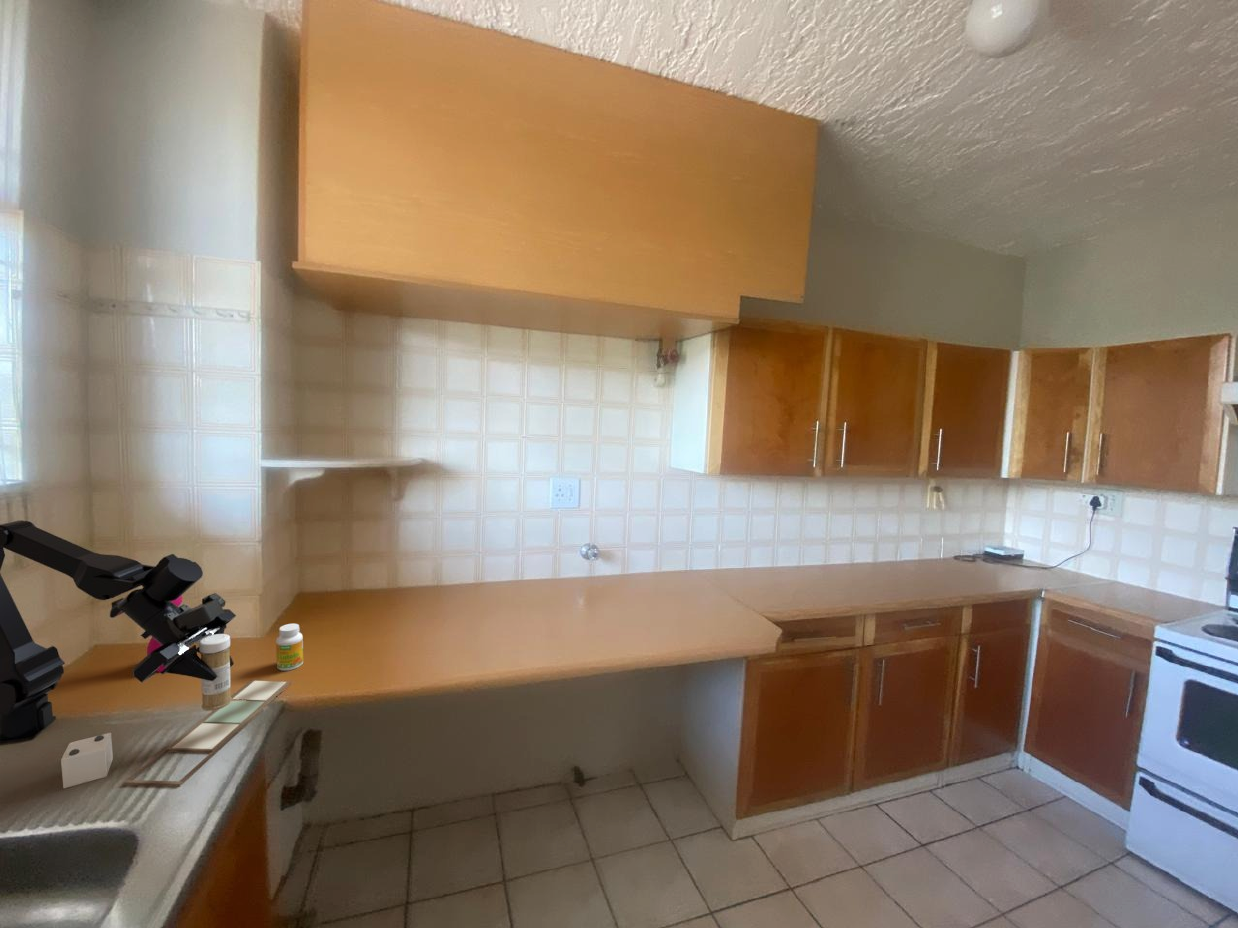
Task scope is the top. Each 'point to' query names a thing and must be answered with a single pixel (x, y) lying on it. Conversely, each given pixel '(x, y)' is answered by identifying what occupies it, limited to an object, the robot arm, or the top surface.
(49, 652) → the robot arm
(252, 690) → the game board
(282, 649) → the supplement bottle
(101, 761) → the die
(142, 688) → the top surface
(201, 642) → the tan spice jar
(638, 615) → the top surface
